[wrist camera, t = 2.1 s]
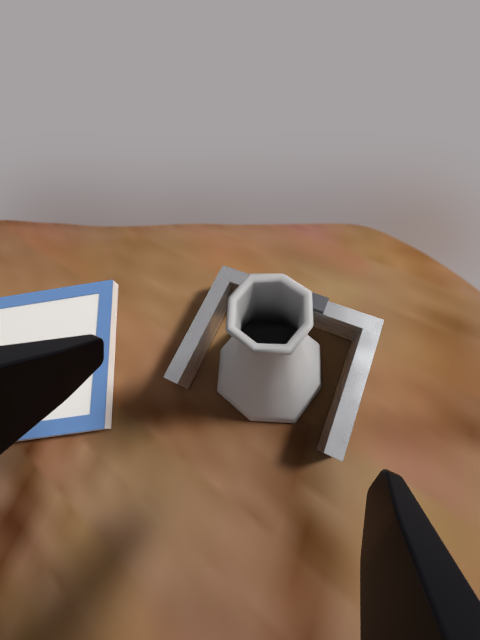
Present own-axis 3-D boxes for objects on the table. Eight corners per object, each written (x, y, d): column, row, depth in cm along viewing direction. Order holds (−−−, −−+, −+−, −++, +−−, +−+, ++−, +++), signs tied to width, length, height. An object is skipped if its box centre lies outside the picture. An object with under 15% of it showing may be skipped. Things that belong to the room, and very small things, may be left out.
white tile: (-46, 450, 19) (-60, 450, 18) (-10, 305, 23) (-21, 300, 22) (111, 428, 19) (103, 428, 18) (118, 285, 23) (112, 279, 22)
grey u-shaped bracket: (332, 457, 17) (344, 462, 14) (175, 383, 19) (160, 375, 17) (370, 333, 19) (386, 317, 17) (227, 282, 22) (221, 262, 19)
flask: (200, 399, 19) (133, 369, 10) (239, 307, 21) (217, 210, 12) (304, 443, 17) (346, 458, 8) (335, 338, 19) (396, 254, 10)
